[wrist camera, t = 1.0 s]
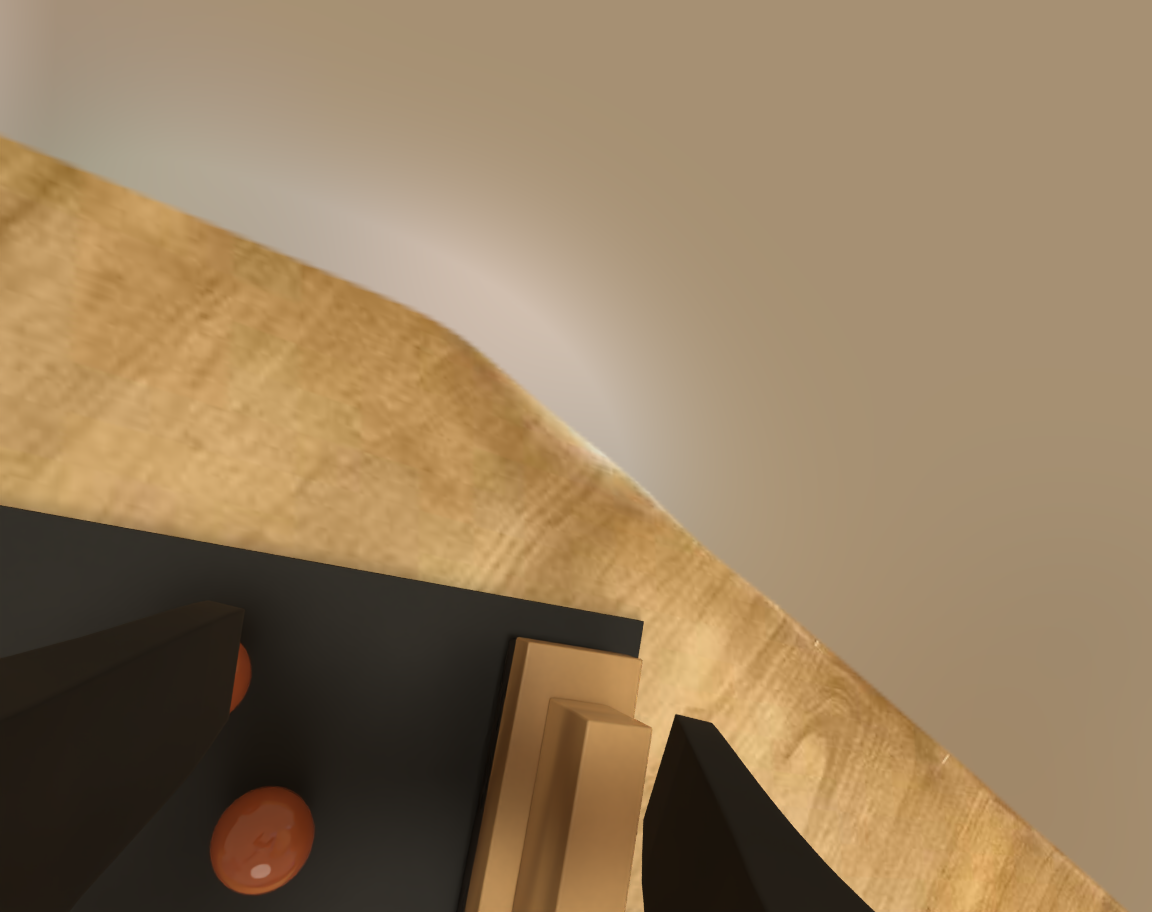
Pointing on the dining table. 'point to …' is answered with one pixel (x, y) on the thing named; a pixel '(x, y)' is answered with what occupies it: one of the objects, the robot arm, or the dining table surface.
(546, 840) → the brush
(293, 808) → the red-brown glossy ball
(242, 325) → the dining table surface
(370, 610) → the mat
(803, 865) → the robot arm
